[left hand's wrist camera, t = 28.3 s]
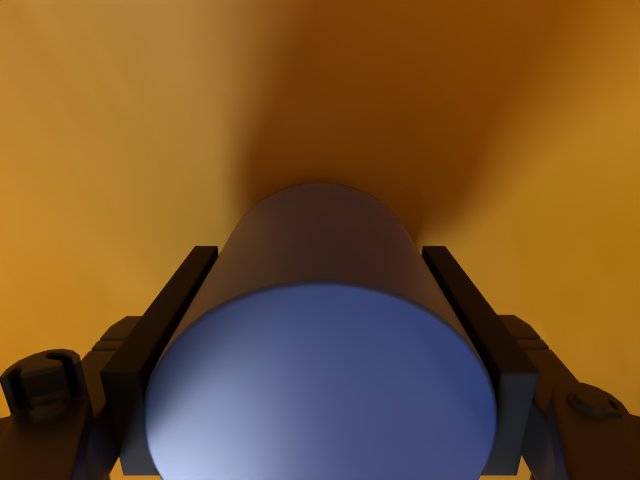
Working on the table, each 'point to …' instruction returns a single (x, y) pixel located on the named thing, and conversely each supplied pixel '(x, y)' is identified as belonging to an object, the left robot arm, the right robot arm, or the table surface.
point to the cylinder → (320, 356)
